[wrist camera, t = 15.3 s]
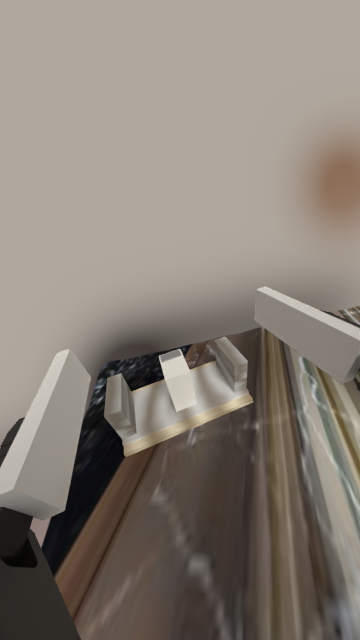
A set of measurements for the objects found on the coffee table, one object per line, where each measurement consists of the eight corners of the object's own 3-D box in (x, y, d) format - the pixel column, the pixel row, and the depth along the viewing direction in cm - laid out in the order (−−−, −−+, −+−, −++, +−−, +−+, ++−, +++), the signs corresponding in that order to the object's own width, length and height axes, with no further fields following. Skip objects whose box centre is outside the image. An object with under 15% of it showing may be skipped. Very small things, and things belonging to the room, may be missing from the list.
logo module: (187, 379, 44) (179, 347, 38) (197, 403, 38) (189, 370, 32) (169, 386, 44) (158, 354, 38) (176, 411, 38) (164, 379, 32)
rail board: (222, 360, 50) (220, 331, 44) (252, 402, 38) (255, 369, 33) (124, 397, 46) (108, 369, 40) (126, 457, 34) (102, 430, 28)
